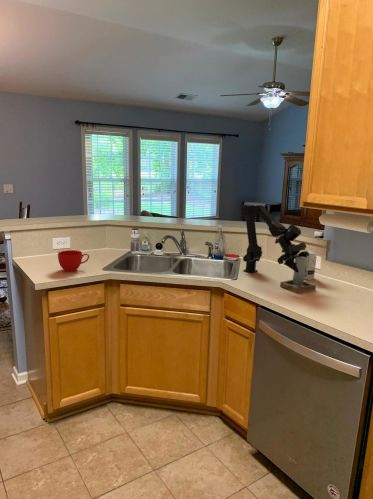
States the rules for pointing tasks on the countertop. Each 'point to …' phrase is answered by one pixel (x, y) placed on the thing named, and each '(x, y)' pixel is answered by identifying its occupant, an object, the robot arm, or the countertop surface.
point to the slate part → (299, 276)
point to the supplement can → (310, 265)
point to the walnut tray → (298, 289)
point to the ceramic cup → (71, 260)
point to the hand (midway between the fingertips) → (301, 271)
